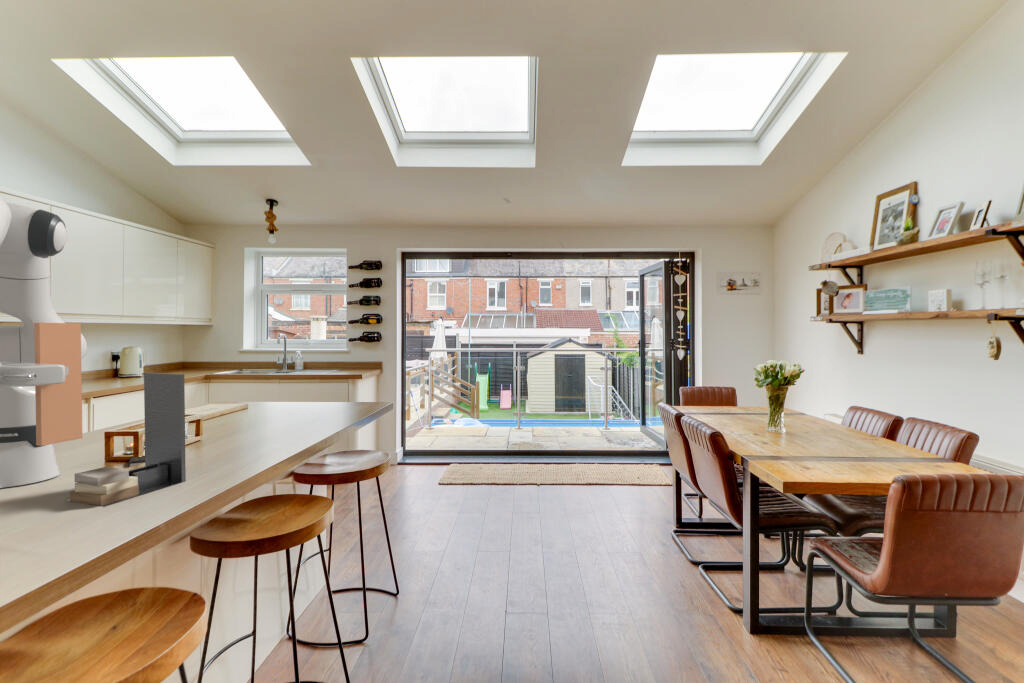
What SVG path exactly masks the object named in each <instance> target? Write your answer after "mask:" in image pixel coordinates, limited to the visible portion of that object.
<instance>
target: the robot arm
mask: <svg viewBox="0 0 1024 683" xmlns="http://www.w3.org/2000/svg"><path fill="white" fill-rule="evenodd" d="M67 235H68V234H67V227H66V224H65V222H64V220H62V218H61V217H60V216H59V215H58V214H55V213H52V212H49V211H47V210H44V209H35V208H31V207H29V206H24V205H19V204H16V203H11V202H6V201H5V200H4V199H2V198H1V197H0V313H2V314H4V315H8V316H11V317H13V318H16V319H17V320H20V322H22V323H23V324H22V325H0V489H3V488H9V487H17V486H24V485H29V484H34V483H35V484H36V483H40V482H43V481H47V480H50V479H52V478H55V477H56V478H57V477H58V476H59V475H61V471H60V466H59V465H58V462H57V457H56V450H55V446H54V444H55V443H54V444H49V445H43V446H39V445H36V399H35V386H40V385H53V384H61V383H64V382H65V375H68V374H69V368H68V367H66V366H64V365H61V364H38V363H35V341H34V323H66V322H65V321H64V320H63V319H61V317H60V316H59V315H58V314H57V312H56V310H55V308H54V306H53V302H52V295H51V267H50V257H54V256H56V255H57V254H59V253H61V252H62V251H63V250H64V247H65V245H66V243H67V238H68V236H67ZM87 351H88V344H87V340H86V338H85V335H83V333H81V361H82V360H83V358H84V357H85V356H86V353H87Z"/></svg>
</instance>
